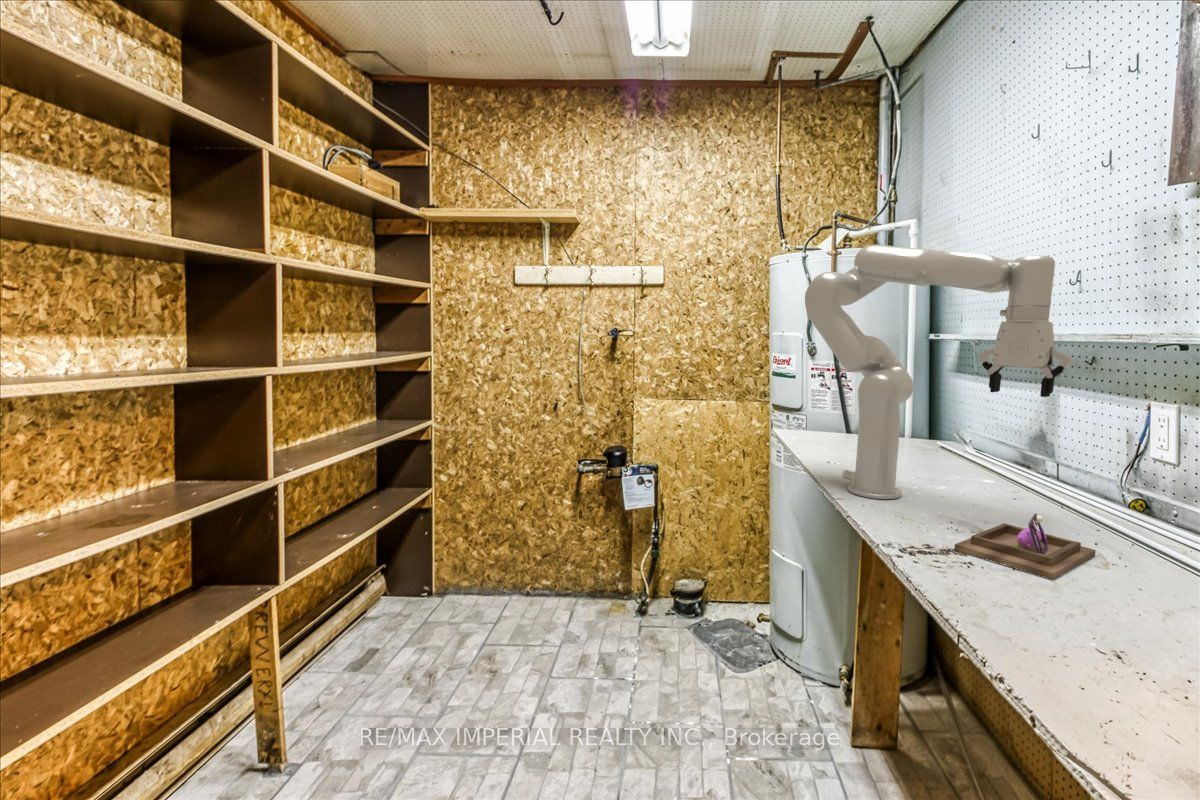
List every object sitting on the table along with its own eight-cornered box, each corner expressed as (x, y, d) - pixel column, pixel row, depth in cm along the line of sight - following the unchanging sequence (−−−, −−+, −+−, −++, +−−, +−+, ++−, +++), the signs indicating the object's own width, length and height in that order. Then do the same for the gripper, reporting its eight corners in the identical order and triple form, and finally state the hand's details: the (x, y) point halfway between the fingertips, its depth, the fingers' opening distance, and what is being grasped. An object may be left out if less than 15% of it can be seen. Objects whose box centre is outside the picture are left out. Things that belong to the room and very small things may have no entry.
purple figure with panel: (1035, 523, 107) (1041, 512, 113) (1001, 526, 110) (1009, 515, 117) (1047, 561, 106) (1052, 547, 113) (1012, 563, 110) (1020, 549, 116)
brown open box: (954, 550, 115) (955, 536, 115) (1000, 531, 126) (1002, 518, 126) (1052, 580, 102) (1054, 565, 102) (1094, 556, 113) (1096, 542, 113)
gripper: (976, 314, 133) (968, 391, 136) (1069, 314, 119) (1059, 399, 121) (991, 315, 138) (984, 389, 140) (1083, 315, 123) (1073, 397, 126)
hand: (1019, 394), depth 131 cm, fingers open, 9 cm apart
